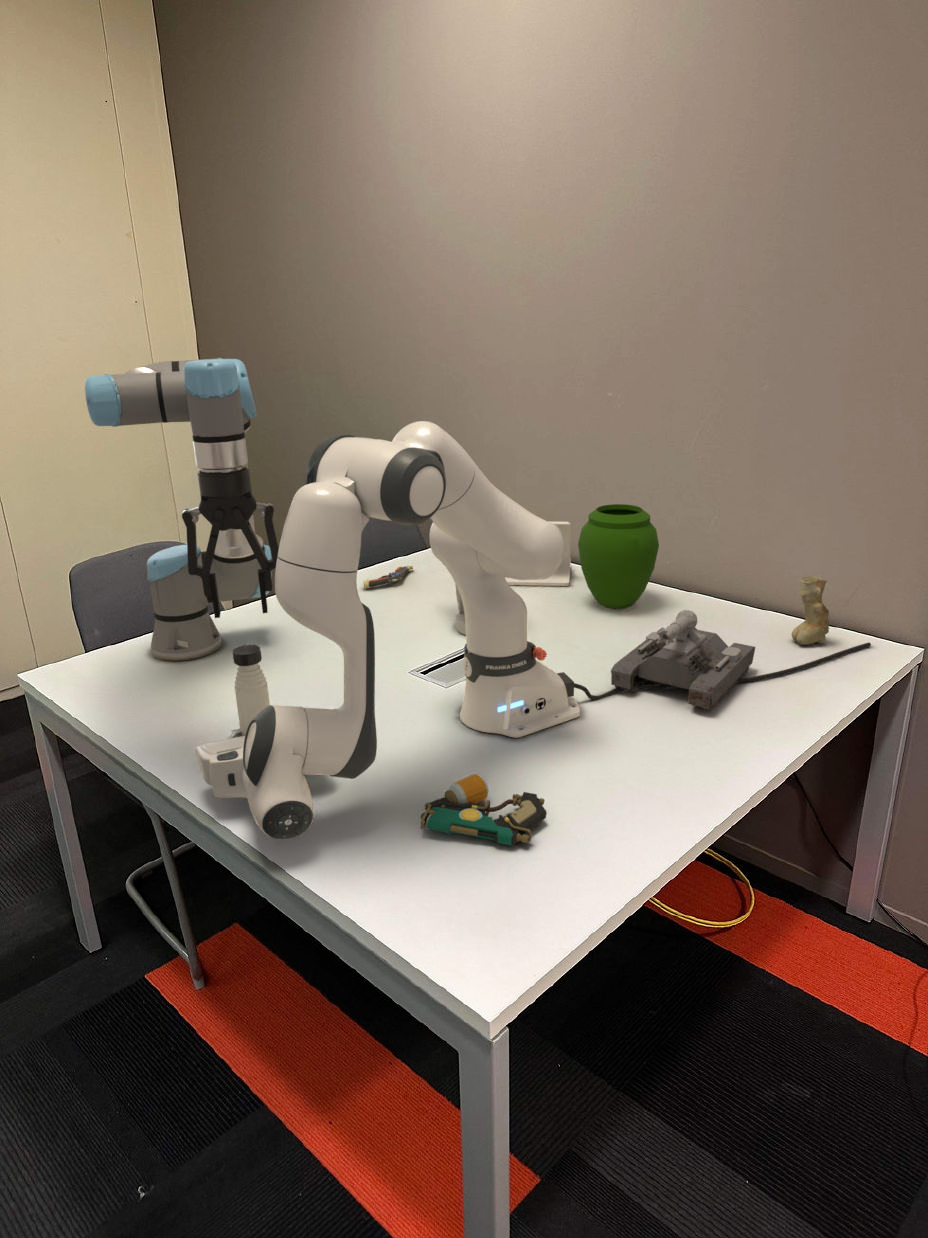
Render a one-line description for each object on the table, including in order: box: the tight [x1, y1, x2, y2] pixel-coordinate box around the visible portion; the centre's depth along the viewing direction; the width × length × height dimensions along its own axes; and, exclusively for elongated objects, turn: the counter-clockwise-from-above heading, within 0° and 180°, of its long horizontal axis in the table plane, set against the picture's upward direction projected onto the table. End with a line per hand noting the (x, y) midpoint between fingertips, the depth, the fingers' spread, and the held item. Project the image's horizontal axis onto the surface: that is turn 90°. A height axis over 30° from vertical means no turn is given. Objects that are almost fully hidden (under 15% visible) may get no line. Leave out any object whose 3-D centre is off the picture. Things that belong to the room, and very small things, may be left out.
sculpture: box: [791, 575, 830, 646], centre depth 185 cm, size 6×7×15 cm
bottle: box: [234, 663, 271, 736], centre depth 141 cm, size 5×5×21 cm
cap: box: [232, 644, 263, 667], centre depth 138 cm, size 4×4×2 cm
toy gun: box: [362, 565, 414, 589], centre depth 238 cm, size 3×19×10 cm
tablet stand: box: [505, 521, 572, 587], centre depth 236 cm, size 18×25×17 cm
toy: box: [610, 609, 756, 711], centre depth 169 cm, size 25×20×15 cm
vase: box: [577, 503, 660, 610], centre depth 210 cm, size 20×20×24 cm
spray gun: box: [420, 773, 547, 846], centre depth 126 cm, size 4×17×15 cm
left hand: (241, 612), depth 135 cm, fingers open, 7 cm apart
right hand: (255, 729), depth 144 cm, fingers closed on bottle, 5 cm apart
